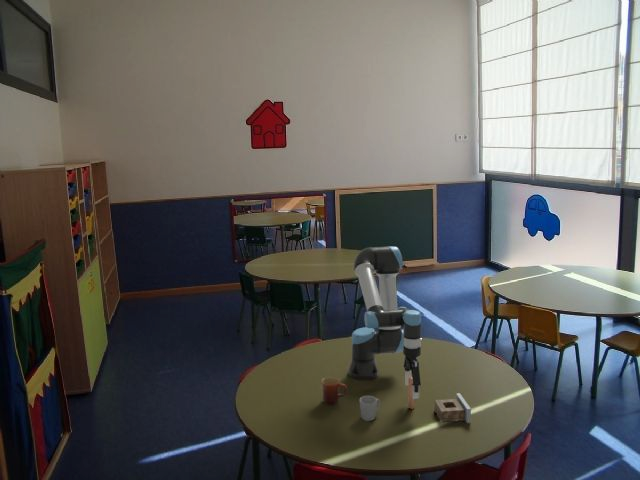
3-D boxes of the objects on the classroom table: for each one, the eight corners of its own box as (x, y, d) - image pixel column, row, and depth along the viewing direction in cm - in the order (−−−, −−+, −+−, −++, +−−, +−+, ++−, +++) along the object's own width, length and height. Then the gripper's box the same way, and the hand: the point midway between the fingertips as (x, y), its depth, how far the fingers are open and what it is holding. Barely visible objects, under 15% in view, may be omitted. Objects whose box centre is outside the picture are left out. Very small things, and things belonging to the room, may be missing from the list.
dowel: (409, 409, 243) (409, 379, 241) (407, 406, 246) (407, 377, 243) (415, 408, 244) (415, 379, 241) (413, 405, 246) (414, 376, 244)
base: (466, 423, 231) (467, 409, 230) (455, 406, 244) (456, 393, 243) (470, 422, 231) (470, 408, 230) (459, 406, 245) (459, 393, 243)
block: (441, 422, 232) (441, 411, 231) (434, 410, 242) (434, 400, 241) (464, 420, 233) (464, 409, 232) (456, 408, 242) (456, 398, 242)
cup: (356, 416, 238) (355, 398, 236) (374, 410, 243) (374, 392, 242) (366, 424, 232) (366, 405, 230) (385, 417, 237) (385, 399, 235)
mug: (319, 405, 249) (318, 384, 247) (325, 396, 257) (324, 375, 255) (344, 408, 245) (344, 387, 243) (349, 399, 253) (349, 379, 251)
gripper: (428, 356, 227) (427, 404, 231) (413, 335, 252) (413, 378, 255) (410, 357, 227) (410, 405, 230) (397, 336, 251) (397, 379, 255)
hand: (411, 391), depth 243 cm, fingers open, 13 cm apart
